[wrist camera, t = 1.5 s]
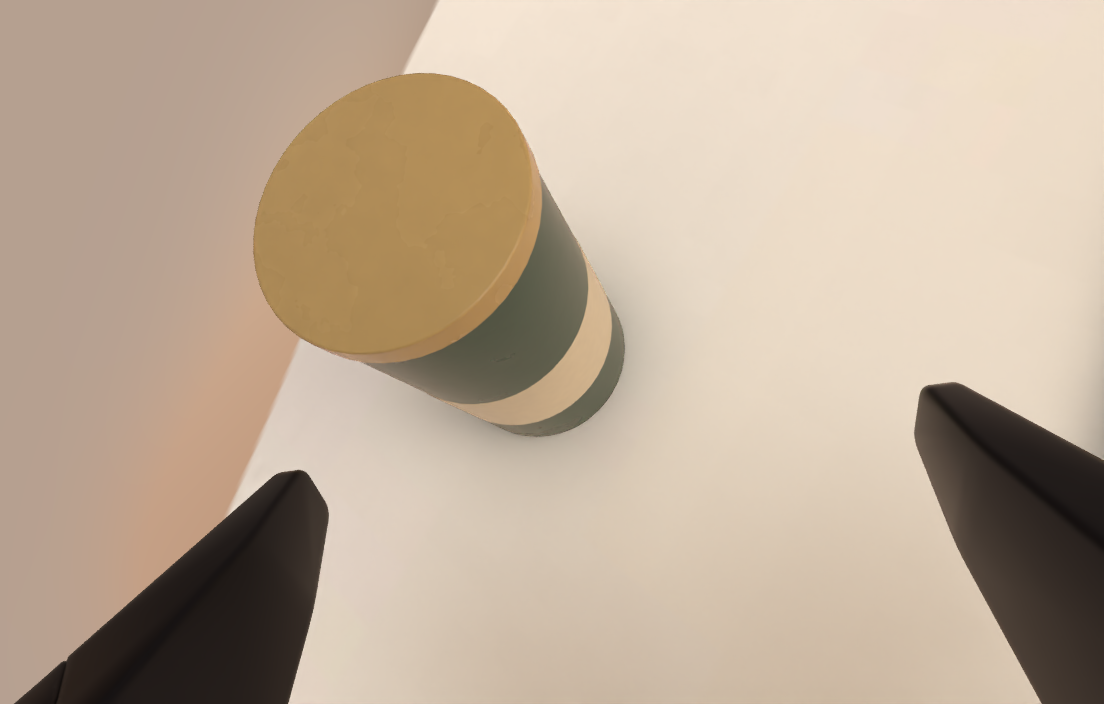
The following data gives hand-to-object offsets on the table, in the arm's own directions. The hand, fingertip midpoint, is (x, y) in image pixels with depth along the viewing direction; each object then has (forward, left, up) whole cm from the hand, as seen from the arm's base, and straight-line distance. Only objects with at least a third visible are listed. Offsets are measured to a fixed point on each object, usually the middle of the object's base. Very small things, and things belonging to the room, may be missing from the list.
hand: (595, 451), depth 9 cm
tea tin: (+5, +6, -14) cm, 16 cm away
